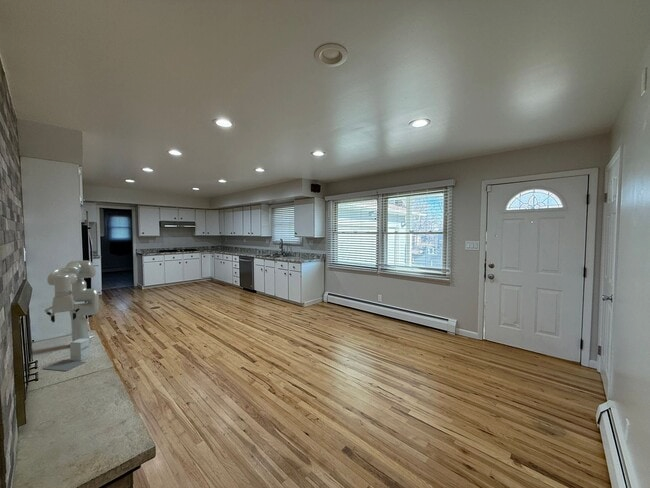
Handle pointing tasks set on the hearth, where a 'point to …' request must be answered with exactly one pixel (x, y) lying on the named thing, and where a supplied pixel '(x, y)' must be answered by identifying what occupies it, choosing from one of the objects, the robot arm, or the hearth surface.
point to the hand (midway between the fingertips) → (64, 320)
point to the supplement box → (79, 349)
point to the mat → (64, 365)
